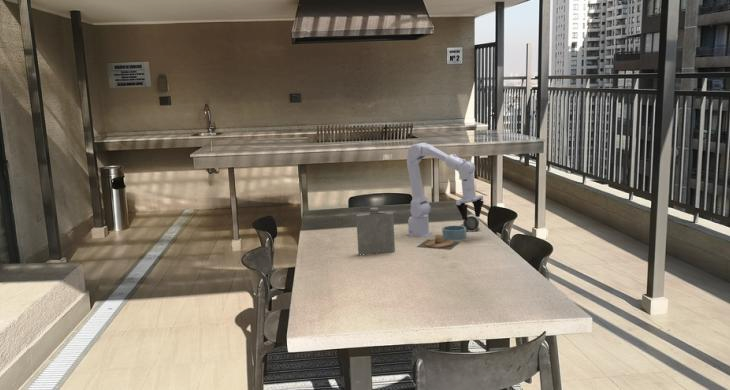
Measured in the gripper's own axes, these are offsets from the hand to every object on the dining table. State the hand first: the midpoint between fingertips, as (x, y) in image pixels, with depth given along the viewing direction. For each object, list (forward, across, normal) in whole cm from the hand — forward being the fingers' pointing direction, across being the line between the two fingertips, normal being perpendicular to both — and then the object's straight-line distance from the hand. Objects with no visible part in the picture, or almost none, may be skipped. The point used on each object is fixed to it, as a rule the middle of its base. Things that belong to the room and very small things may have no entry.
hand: (471, 218), depth 271 cm
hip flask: (+8, -45, +12) cm, 47 cm away
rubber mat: (+10, -17, +4) cm, 20 cm away
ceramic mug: (+10, +12, +17) cm, 23 cm away
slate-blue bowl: (+10, -3, +10) cm, 14 cm away
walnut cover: (+9, -17, +4) cm, 20 cm away
